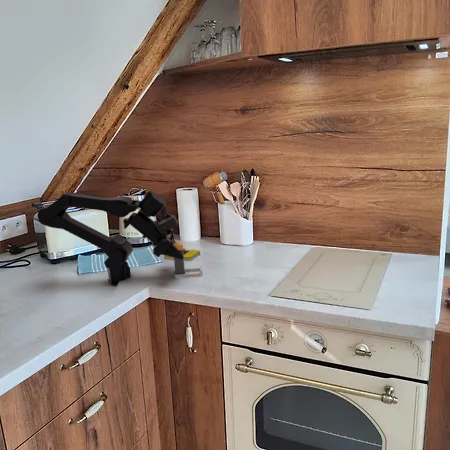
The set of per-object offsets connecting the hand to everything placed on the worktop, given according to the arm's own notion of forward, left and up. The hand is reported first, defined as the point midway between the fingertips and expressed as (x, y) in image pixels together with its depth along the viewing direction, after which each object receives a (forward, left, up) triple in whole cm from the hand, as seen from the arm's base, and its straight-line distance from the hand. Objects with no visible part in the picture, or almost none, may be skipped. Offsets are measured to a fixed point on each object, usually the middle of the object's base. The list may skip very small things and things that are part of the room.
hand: (183, 256), depth 154 cm
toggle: (-1, +1, -6) cm, 7 cm away
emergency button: (+8, +19, -8) cm, 22 cm away
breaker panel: (+1, 0, -8) cm, 8 cm away
